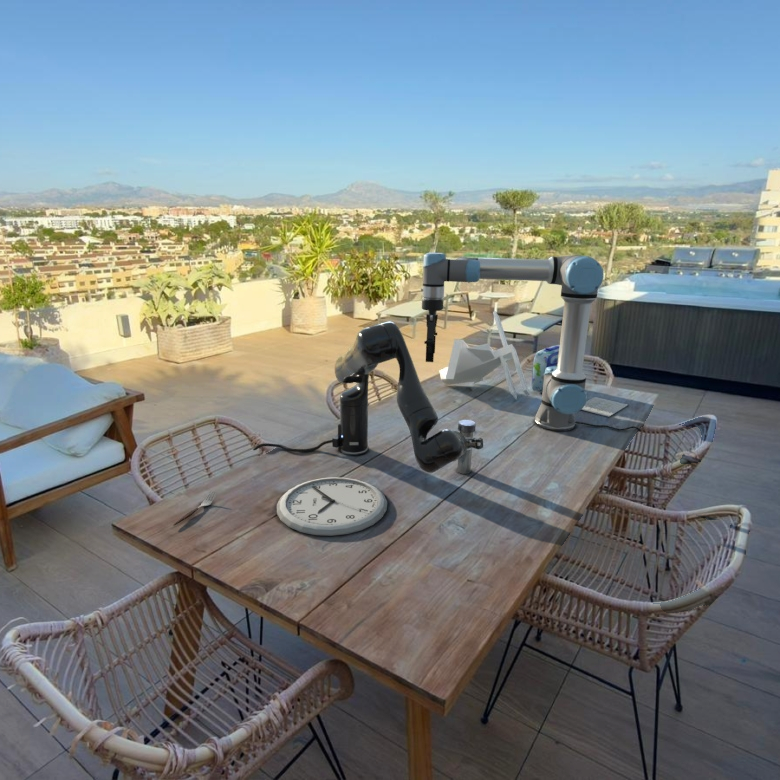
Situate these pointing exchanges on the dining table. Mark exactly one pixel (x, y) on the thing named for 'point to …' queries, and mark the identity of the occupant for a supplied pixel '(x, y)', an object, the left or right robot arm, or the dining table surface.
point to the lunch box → (543, 365)
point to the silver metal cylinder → (465, 458)
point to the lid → (466, 426)
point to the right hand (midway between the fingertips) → (430, 357)
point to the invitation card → (603, 406)
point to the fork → (204, 503)
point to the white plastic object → (482, 362)
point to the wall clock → (331, 506)
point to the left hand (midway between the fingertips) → (459, 442)
